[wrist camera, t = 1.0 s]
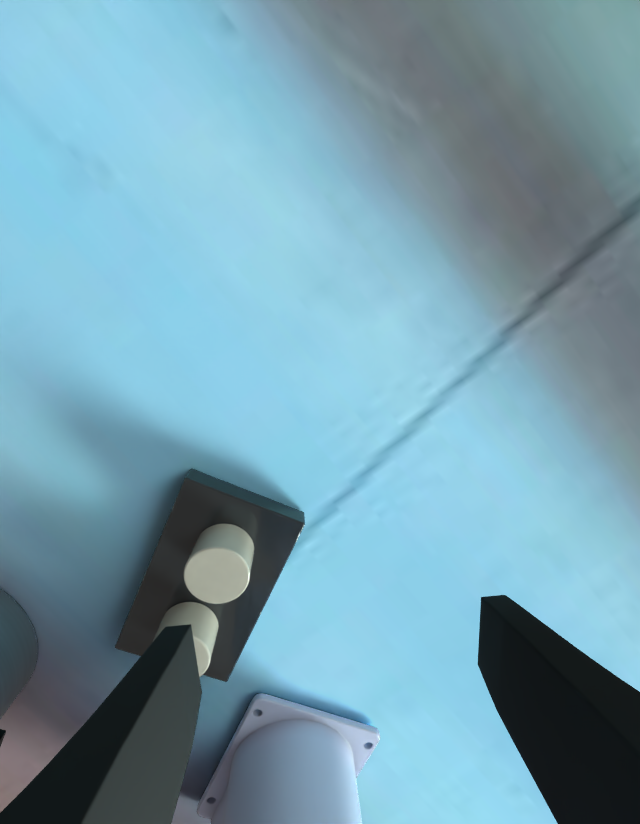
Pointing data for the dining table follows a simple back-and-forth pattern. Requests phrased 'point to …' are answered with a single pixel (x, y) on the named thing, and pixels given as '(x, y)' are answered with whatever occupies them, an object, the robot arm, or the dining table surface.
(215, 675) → the sushi plate
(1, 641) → the steel pot
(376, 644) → the dining table surface
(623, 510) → the dining table surface
